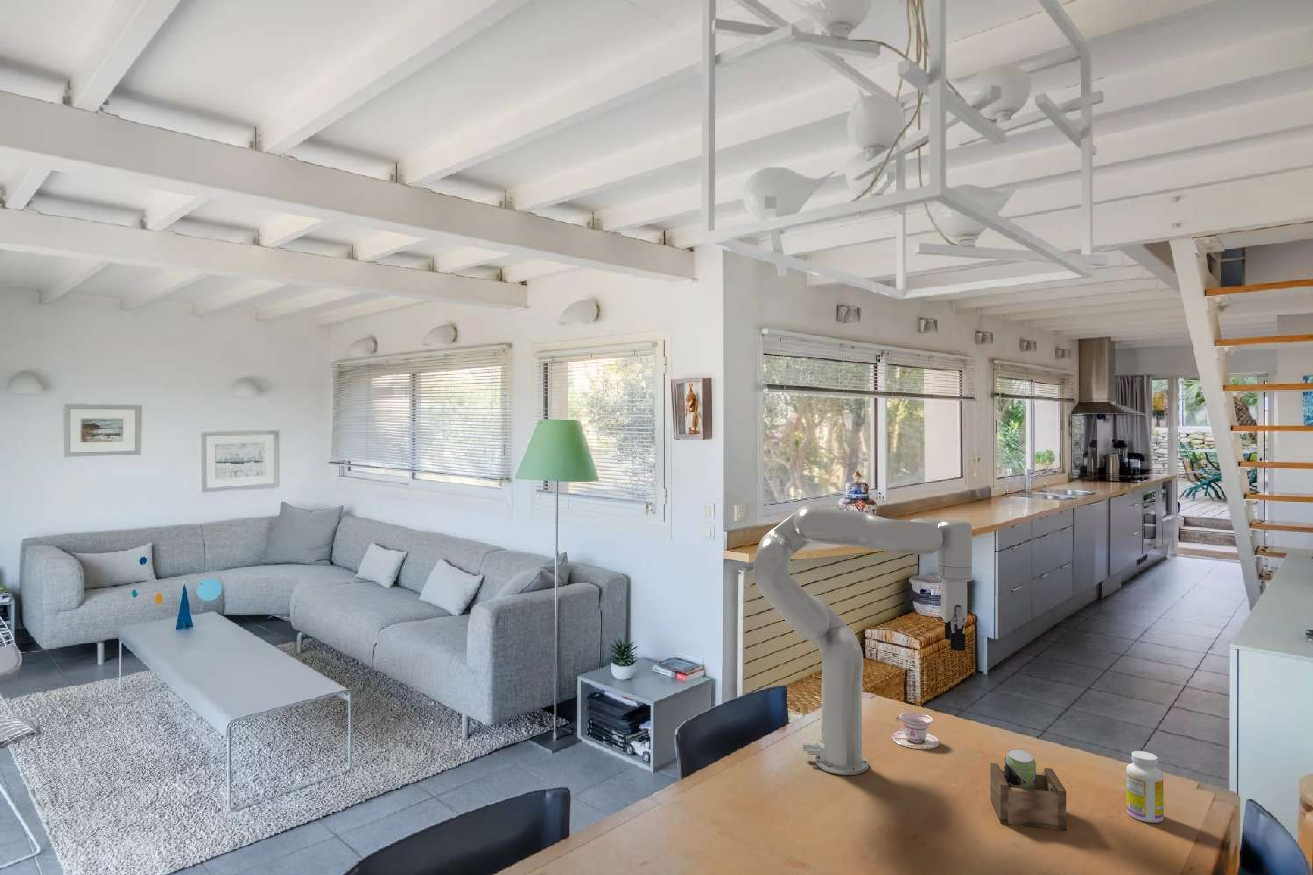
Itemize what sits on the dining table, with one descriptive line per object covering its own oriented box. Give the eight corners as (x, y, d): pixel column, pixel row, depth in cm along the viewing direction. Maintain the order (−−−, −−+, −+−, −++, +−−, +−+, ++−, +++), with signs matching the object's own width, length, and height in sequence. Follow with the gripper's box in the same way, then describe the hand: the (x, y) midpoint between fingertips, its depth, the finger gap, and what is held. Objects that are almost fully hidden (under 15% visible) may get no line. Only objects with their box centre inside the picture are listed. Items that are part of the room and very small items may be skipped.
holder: (1000, 823, 159) (1000, 784, 159) (990, 798, 170) (990, 762, 170) (1066, 830, 157) (1066, 790, 157) (1051, 805, 167) (1051, 768, 167)
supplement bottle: (1158, 811, 165) (1158, 751, 165) (1167, 826, 158) (1168, 763, 158) (1122, 806, 167) (1122, 747, 167) (1130, 820, 161) (1130, 759, 161)
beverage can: (1025, 799, 168) (1026, 744, 167) (1042, 816, 160) (1042, 759, 160) (996, 799, 168) (997, 744, 168) (1011, 816, 160) (1012, 758, 160)
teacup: (941, 736, 206) (941, 713, 206) (937, 753, 195) (937, 729, 195) (894, 729, 211) (894, 706, 211) (888, 745, 200) (888, 721, 200)
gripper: (933, 566, 193) (933, 634, 193) (942, 578, 176) (942, 653, 176) (966, 567, 191) (965, 636, 191) (978, 580, 174) (977, 655, 174)
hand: (954, 644), depth 184 cm, fingers open, 9 cm apart
